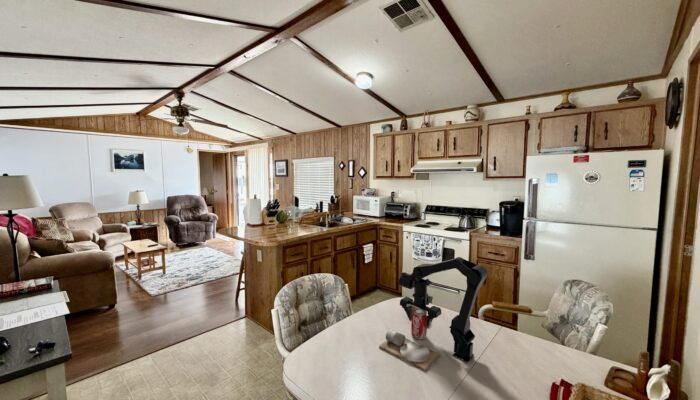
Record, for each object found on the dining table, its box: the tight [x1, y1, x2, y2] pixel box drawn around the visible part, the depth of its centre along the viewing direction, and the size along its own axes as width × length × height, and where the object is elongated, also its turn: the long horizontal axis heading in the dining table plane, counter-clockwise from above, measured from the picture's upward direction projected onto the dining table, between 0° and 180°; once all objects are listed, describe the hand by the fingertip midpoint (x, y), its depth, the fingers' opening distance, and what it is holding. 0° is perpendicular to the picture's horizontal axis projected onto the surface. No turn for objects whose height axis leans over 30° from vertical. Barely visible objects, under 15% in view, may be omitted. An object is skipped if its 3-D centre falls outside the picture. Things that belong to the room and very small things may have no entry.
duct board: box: [378, 328, 441, 372], centre depth 126 cm, size 22×13×6 cm, turn 47°
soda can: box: [410, 309, 428, 341], centre depth 138 cm, size 7×7×12 cm
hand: (419, 324), depth 138 cm, fingers open, 9 cm apart
